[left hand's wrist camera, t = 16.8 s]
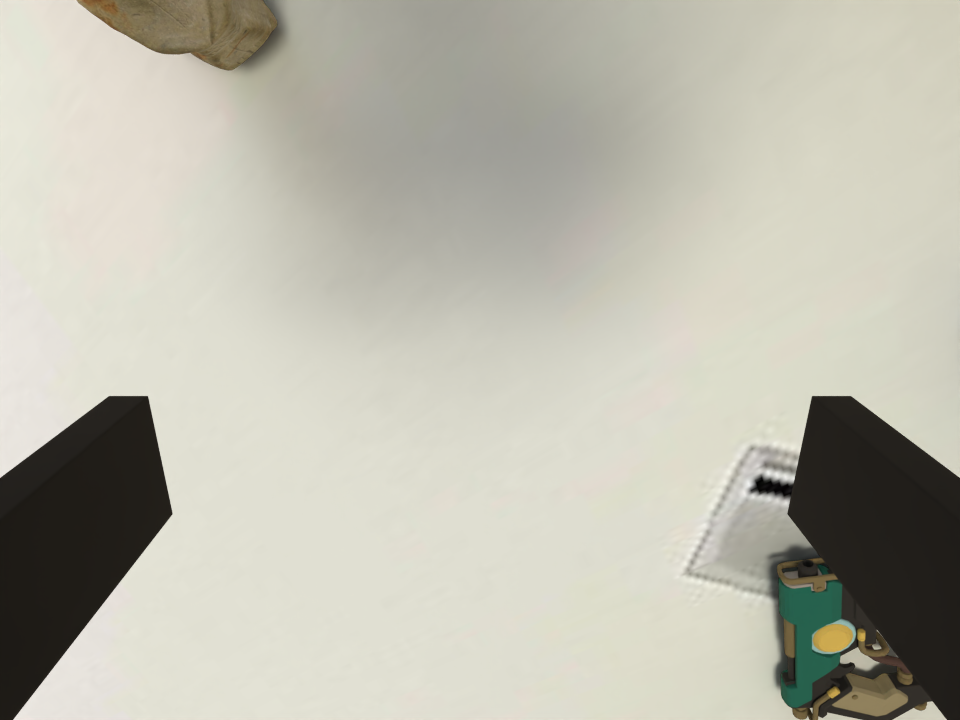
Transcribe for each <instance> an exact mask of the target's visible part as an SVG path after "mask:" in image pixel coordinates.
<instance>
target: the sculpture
mask: <svg viewBox="0 0 960 720" xmlns="http://www.w3.org/2000/svg"><path fill="white" fill-rule="evenodd" d="M77 1H78V3H79V4H81V5H82V6H83V7H85V8H86V9H87V10H88V11H90V12H91V13H92V14H93V15H95V16H96V17H98V18H99V19H101V20H102V21H103V22H105V23H106V24H107V25H109V26H110V27H111V28H113V29H115V30H117V31H119V32H121V33H123V34H125V35H127V36H128V37H130V38H131V39H133V40H135V41H137V42H139V43H140V44H142V45H144V46H145V47H147V48H149V49H151V50H153V51H155V52H159V53H162V54H185V53H191V54H193V55H194V56H196V57H197V58H199V59H201V60H203V61H204V62H207V63H209V64H211V65H213V66H215V67H218V68H221V69H225V70H233V69H235V68H236V67H238V66H239V65H241V64H242V63H243V62H245V61H246V60H247V59H248V58H249V57H250V56H251V55H253V54H254V53H255V52H256V51H257V50H258V49H259V48H260V47H261V46H262V45H263V43H264V42H265V41H266V40H267V38H268V37H269V35H270V34H271V32H272V31H273V30H274V29H275V28H276V26H277V20H276V19H275V17H274V16H273V14H272V12H271V11H270V9H269V8H267V6H266V5H265V3H264V2H263V0H77Z"/></svg>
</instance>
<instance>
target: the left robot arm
mask: <svg viewBox="0 0 960 720" xmlns="http://www.w3.org/2000/svg"><path fill="white" fill-rule="evenodd" d="M171 515H172V509H171V504H170V499H169V495H168V490H167V485H166V480H165V476H164V471H163V466H162V461H161V456H160V452H159V447H158V442H157V437H156V433H155V428H154V423H153V418H152V413H151V409H150V404H149V399H148V396H109V397H107V398H106V399H105V400H103V401H102V402H101V403H99V404H98V405H97V406H95V407H94V408H93V409H91V410H90V411H89V412H87V413H86V414H85V415H83V416H82V417H81V418H79V419H78V420H77V421H75V422H74V423H73V424H71V425H70V426H69V427H67V428H66V429H65V430H63V431H62V432H61V433H59V434H58V435H57V436H55V437H54V438H53V439H52V440H50V441H49V442H48V443H46V444H45V445H44V446H42V447H41V448H40V449H38V450H37V451H36V452H34V453H33V454H32V455H30V456H29V457H28V458H26V459H25V460H24V461H22V462H21V463H20V464H18V465H17V466H16V467H14V468H13V469H12V470H10V471H9V472H8V473H6V474H5V475H4V476H2V477H1V478H0V720H13V719H14V718H15V717H16V715H17V714H18V713H19V711H20V710H21V709H22V707H23V706H24V705H25V704H26V702H27V701H28V700H29V698H30V697H31V696H32V695H33V693H34V692H35V691H36V689H37V688H38V687H39V686H40V684H41V683H42V682H43V680H44V679H45V678H46V677H47V675H48V674H49V673H50V671H51V670H52V669H53V668H54V666H55V665H56V664H57V662H58V661H59V660H60V658H61V657H62V656H63V655H64V653H65V652H66V651H67V649H68V648H69V647H70V646H71V644H72V643H73V642H74V640H75V639H76V638H77V637H78V635H79V634H80V633H81V631H82V630H83V629H84V628H85V626H86V625H87V624H88V622H89V621H90V620H91V619H92V617H93V616H94V615H95V613H96V612H97V611H98V609H99V608H100V607H101V606H102V604H103V603H104V602H105V600H106V599H107V598H108V597H109V595H110V594H111V593H112V591H113V590H114V589H115V588H116V586H117V585H118V584H119V582H120V581H121V580H122V579H123V577H124V576H125V575H126V573H127V572H128V571H129V570H130V568H131V567H132V566H133V564H134V563H135V562H136V560H137V559H138V558H139V557H140V555H141V554H142V553H143V551H144V550H145V549H146V548H147V546H148V545H149V544H150V542H151V541H152V540H153V539H154V537H155V536H156V535H157V533H158V532H159V531H160V530H161V528H162V527H163V526H164V524H165V523H166V522H167V521H168V519H169V518H170V517H171ZM788 515H789V517H790V518H791V519H792V521H793V522H794V523H795V524H796V526H797V527H798V528H799V530H800V531H801V532H802V533H803V535H804V536H805V537H806V539H807V540H808V541H809V542H810V544H811V545H812V546H813V548H814V549H815V550H816V551H817V553H818V554H819V555H820V557H821V558H822V559H823V560H824V562H825V563H826V564H827V566H828V567H829V568H830V570H831V571H832V572H833V573H834V575H835V576H836V577H837V579H838V580H839V581H840V582H841V584H842V585H843V586H844V588H845V589H846V590H847V591H848V593H849V594H850V595H851V597H852V598H853V599H854V600H855V602H856V603H857V604H858V606H859V607H860V608H861V609H862V611H863V612H864V613H865V615H866V616H867V617H868V619H869V620H870V621H871V622H872V624H873V625H874V626H875V628H876V629H877V630H878V631H879V633H880V634H881V635H882V637H883V638H884V639H885V640H886V642H887V643H888V644H889V646H890V647H891V648H892V649H893V651H894V652H895V653H896V655H897V656H898V657H899V658H900V660H901V661H902V662H903V664H904V665H905V666H906V668H907V669H908V670H909V671H910V673H911V674H912V675H913V677H914V678H915V679H916V680H917V682H918V683H919V684H920V686H921V687H922V688H923V689H924V691H925V692H926V693H927V695H928V696H929V697H930V698H931V700H932V701H933V702H934V704H935V705H936V706H937V707H938V709H939V710H940V711H941V713H942V714H943V715H944V717H945V718H946V719H947V720H960V478H959V477H958V476H956V475H955V474H954V473H952V472H951V471H950V470H948V469H947V468H946V467H944V466H943V465H942V464H940V463H939V462H938V461H936V460H935V459H934V458H932V457H931V456H930V455H928V454H927V453H926V452H924V451H923V450H922V449H920V448H919V447H918V446H916V445H915V444H914V443H912V442H911V441H910V440H908V439H907V438H906V437H905V436H903V435H902V434H901V433H899V432H898V431H897V430H895V429H894V428H893V427H891V426H890V425H889V424H887V423H886V422H885V421H883V420H882V419H881V418H879V417H878V416H877V415H875V414H874V413H873V412H871V411H870V410H869V409H867V408H866V407H865V406H863V405H862V404H861V403H859V402H858V401H857V400H855V399H854V398H853V397H851V396H812V399H811V404H810V409H809V413H808V418H807V423H806V428H805V433H804V437H803V442H802V447H801V452H800V456H799V461H798V466H797V471H796V476H795V480H794V485H793V490H792V495H791V499H790V504H789V509H788Z"/></svg>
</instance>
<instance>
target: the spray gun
mask: <svg viewBox="0 0 960 720" xmlns="http://www.w3.org/2000/svg"><path fill="white" fill-rule="evenodd" d="M821 563H825V562H824V560H823V559H822V558H814V559H805V560H798V561H790V562H783V563H780V564H779V565H778V566H777V573H778V575H779V580H778V582H779V612H780V614H781V616H782V617H783V618H784V649H785V654H786V655H787V656H788V669H787V670H785V671H783V672H782V673H781V695H782V698H783V700H784V701H785V703H786V704H787V705H788V706H789V707H791V708H792V709H793V715H794V716H795V717H796V718H798V719H806V718H807V715H808V717H809V719H810V720H818V716H819V717H822V718H823V717H825V716H826V715H827V712H828V713H833V714H838V715H843V716H847V717H852V718H857V719H862V720H893V719H894V718H896V717H898V716H900V715H901V714H903V713H905V712H907V711H909V710H910V709H912V708H915V709H917V710H925V709H926V705H927V702H929V701H932V700H931V698H930V697H929V696H928V695H927V693H926V692H925V691H924V689H923V688H922V687H921V686H920V684H919V683H918V682H917V680H916V679H915V678H914V677H913V675H912V674H911V673H910V671H909V670H908V669H907V668H906V666H905V665H904V664H903V662H902V661H901V660H900V658H898V657H893V656H888V655H886V654H888V652H889V647H888V645H887V643H886V641H885V640H884V638H883V637H882V636H881V635H880V634H879V632H877V629H876V628H875V626H874V625H873V624H872V622H871V621H870V620H869V619H868V617H867V616H866V615H865V613H864V612H863V611H862V609H861V608H860V607H859V606H858V604H857V603H856V602H855V600H854V599H853V598H852V597H851V595H850V594H849V593H848V591H847V590H846V589H845V588H844V586H843V585H842V584H841V582H840V581H839V580H838V579H837V577H836V576H835V575H834V573H833V572H832V571H831V570H830V569H828V568H827V567H825V566H823V565H818V566H817V565H816V564H821ZM791 567H798V571H792V572H785V573H783V572H782V569H784V568H791ZM876 640H877V641H878V642H879V644H880V646H881V647H882V648H881V649H878V650H874V649H873V647H872V644H875V643H876ZM857 647H858V648H859V650H860V651H861V652H862V653H863V654H865V655H867V656H869V657H870V658H872V659H873V660H875V661H878V662H880V663H883V664H887V665H892V666H897V673H889V674H886V673H885V674H881V675H879V676H878V677H877V678H875V679H873V680H872V679H869V678H865V677H862V676H858V675H855V674H852V673H849V672H851V671H852V670H853V669H854V668H855V665H854V663H851V662H850V663H848V664H840V656H841V655H843V654H845V653H847V652H849V651H851V650H853V649H855V648H857ZM810 708H813V714H812V712H811V710H810Z"/></svg>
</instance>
